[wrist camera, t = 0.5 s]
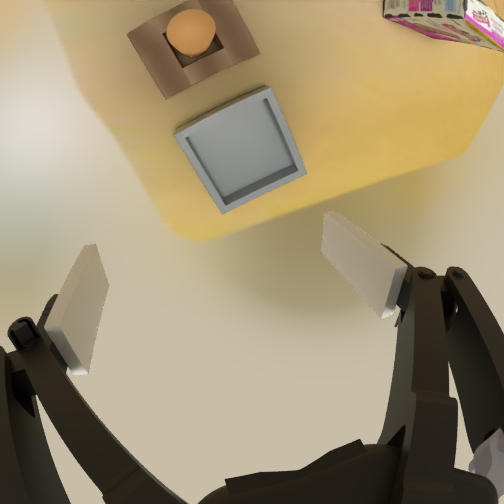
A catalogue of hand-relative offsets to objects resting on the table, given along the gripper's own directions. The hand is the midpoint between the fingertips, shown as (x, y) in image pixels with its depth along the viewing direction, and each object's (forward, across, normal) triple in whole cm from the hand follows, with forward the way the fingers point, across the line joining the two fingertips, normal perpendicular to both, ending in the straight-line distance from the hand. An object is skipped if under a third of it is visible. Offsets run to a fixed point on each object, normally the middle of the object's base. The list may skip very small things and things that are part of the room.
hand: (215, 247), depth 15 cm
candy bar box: (+19, +33, +26) cm, 46 cm away
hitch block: (+23, +1, +17) cm, 28 cm away
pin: (+23, +1, +17) cm, 28 cm away
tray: (+25, +7, +2) cm, 26 cm away
